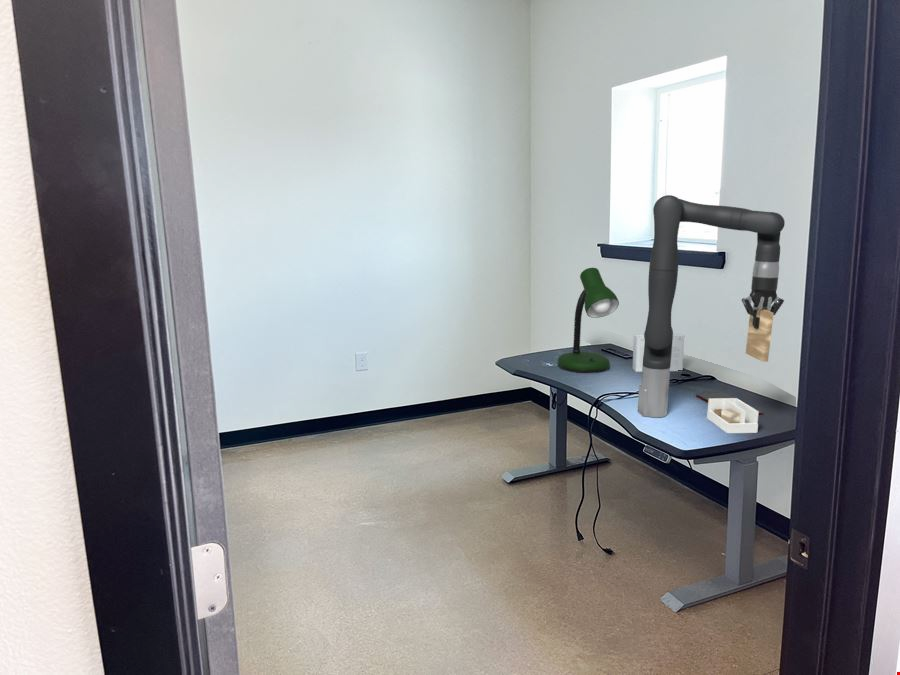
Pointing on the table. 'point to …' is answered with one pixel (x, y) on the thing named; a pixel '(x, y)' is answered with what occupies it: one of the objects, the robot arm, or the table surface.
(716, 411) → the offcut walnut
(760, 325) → the tan rectangular block
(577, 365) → the desk lamp
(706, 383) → the table surface
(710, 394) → the smartphone
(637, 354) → the skincare box
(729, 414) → the offcut maple
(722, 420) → the rack
